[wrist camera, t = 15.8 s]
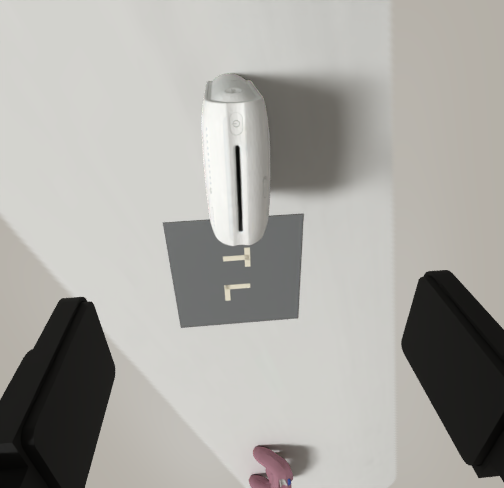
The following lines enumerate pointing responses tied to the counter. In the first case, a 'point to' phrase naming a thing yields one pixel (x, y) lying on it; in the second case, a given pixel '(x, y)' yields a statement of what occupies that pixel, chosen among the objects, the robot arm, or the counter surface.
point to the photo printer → (236, 159)
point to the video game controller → (271, 470)
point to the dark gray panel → (235, 273)
